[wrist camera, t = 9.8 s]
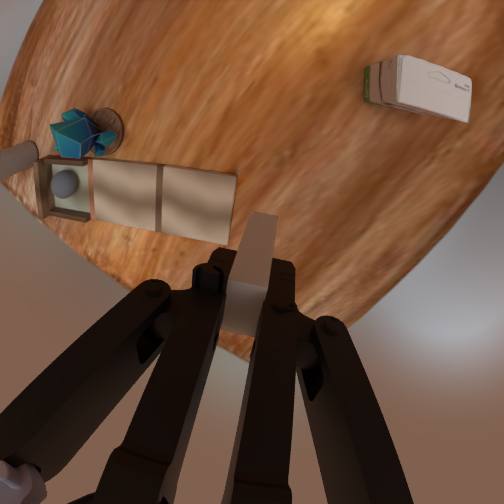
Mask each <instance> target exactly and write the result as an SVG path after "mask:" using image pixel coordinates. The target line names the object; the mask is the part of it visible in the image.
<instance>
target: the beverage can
mask: <svg viewBox="0 0 504 504" xmlns="http://www.w3.org/2000/svg"><path fill="white" fill-rule="evenodd" d="M37 158H38V151H37V148H36V146H35V144H34V143H32V142H30V141H27V142H24V143H21V144H18V145H15V146H13V147H10V148H7V149H4V150H2V151H0V181H2V180H4V179H6V178H8V177H10V176H12V175H14V174H16V173H18V172H20V171H23V170H25V169H27V168H29V167H32V166H33V161H36V160H37Z"/></svg>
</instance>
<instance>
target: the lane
mask: <svg viewBox="0 0 504 504" xmlns="http://www.w3.org/2000/svg"><path fill="white" fill-rule="evenodd" d="M33 168H34V180H35V190H36V199H37V206H38V214H39V218H41V219H44V218H46V217H47V216H49V215H50V216H55V217H60V218H65V219H71V220H76V221H81V222H88V221H89V220H90V219H93V220H98V221H104V222H109V223H114V224H119V225H124V226H130V227H135V228H140V229H145V230H151V231H156V232H161V233H166V234H171V235H177V236H182V237H187V238H192V239H197V240H203V241H208V242H213V243H218V244H223V245H228V242H229V236H230V228H231V221H232V213H233V206H234V199H235V191H236V184H237V177H238V175H234V174H228V173H222V172H216V171H209V170H202V169H195V168H188V167H180V166H173V165H165V164H156V163H147V162H137V161H127V160H116V159H104V158H90V157H82V158H80V159H79V158H69V157H61V156H52V155H48V156H46V157H43V158H41V159H38V160H36V161H33ZM63 170H67V171H70V172H72V173H73V174H74V176H75V177H76V181H77V186H76V190H75V192H74V193H73V194H72V195H71V196H70V197H68V198H66V199H60V198H57V197H56V196H55V195H54V194H53V193H52V190H51V181H52V178H53V177H54V175H55V174H56V173H58V172H59V171H63Z"/></svg>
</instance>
